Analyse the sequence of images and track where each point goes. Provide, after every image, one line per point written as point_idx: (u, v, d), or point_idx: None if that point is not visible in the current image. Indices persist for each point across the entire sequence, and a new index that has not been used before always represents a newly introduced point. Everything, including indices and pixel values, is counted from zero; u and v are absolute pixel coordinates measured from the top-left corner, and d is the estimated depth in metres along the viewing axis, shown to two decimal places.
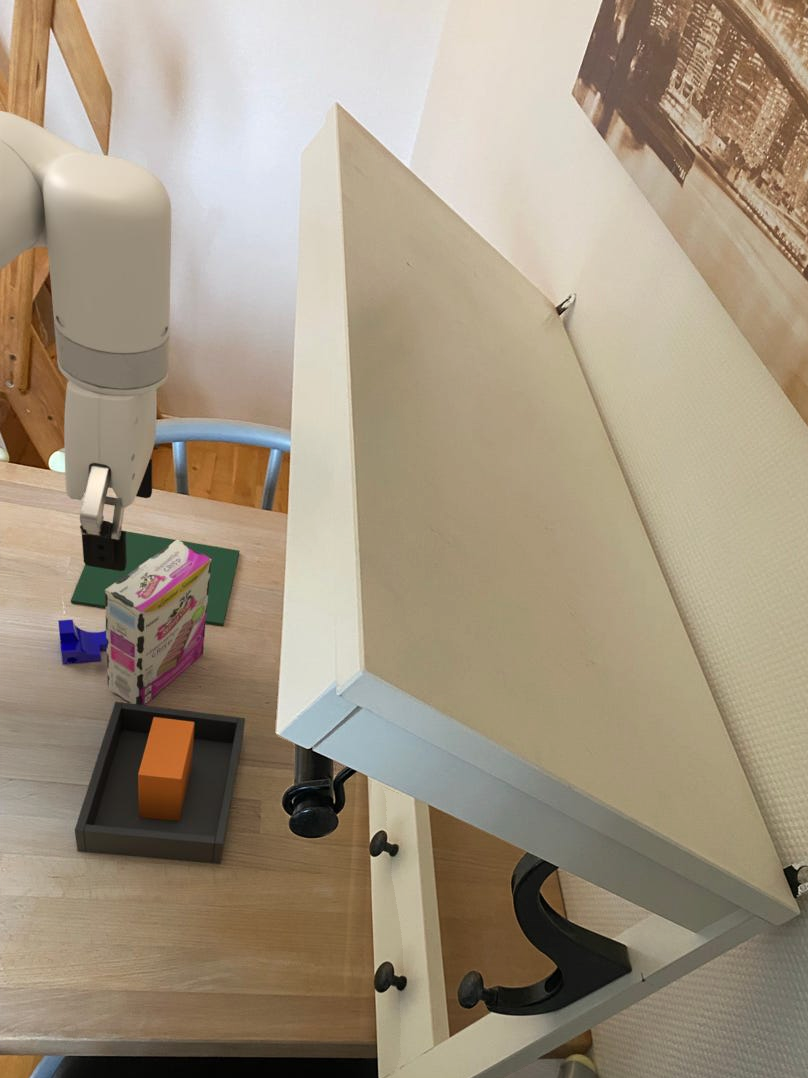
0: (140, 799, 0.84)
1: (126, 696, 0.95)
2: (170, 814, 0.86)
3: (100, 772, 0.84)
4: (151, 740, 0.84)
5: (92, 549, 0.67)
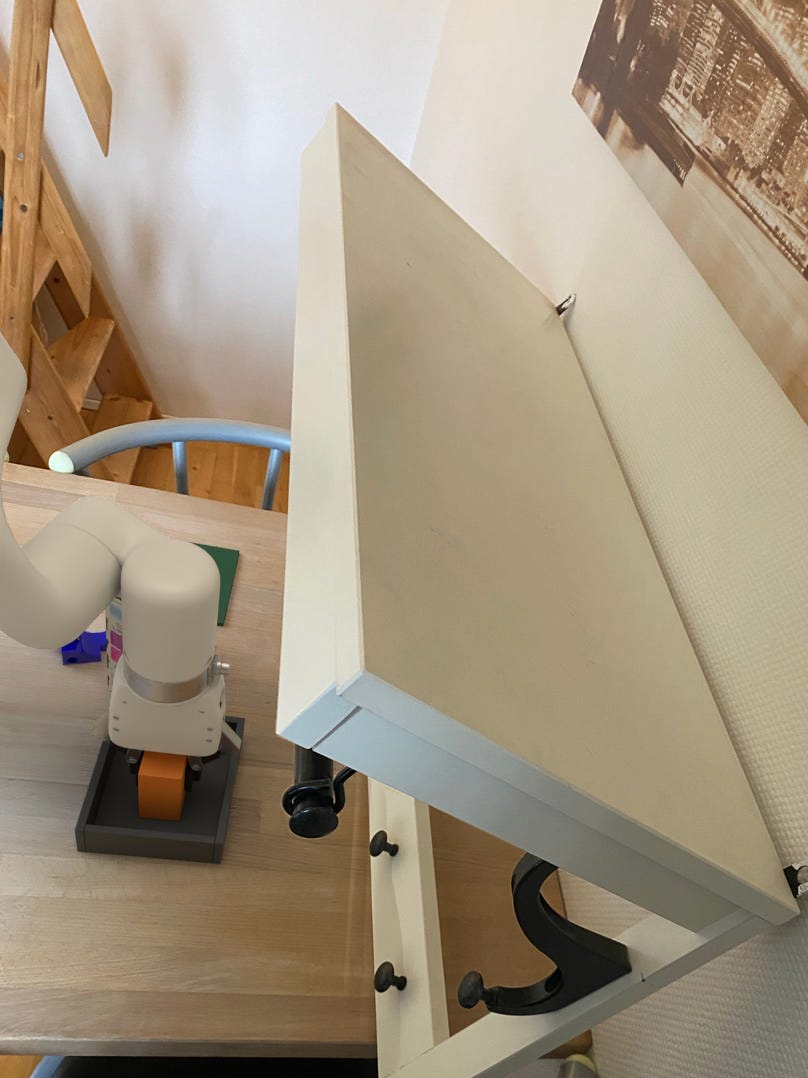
0: (140, 799, 0.84)
1: None
2: (170, 814, 0.86)
3: (100, 772, 0.84)
4: None
5: None
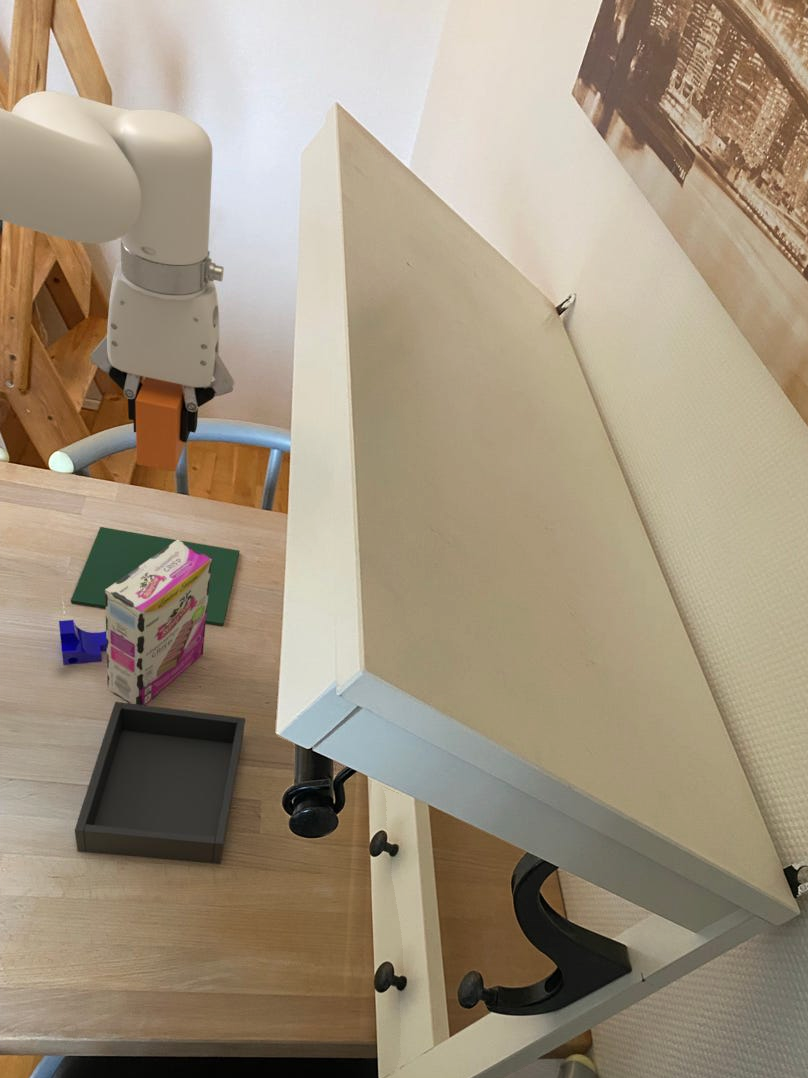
0: (137, 437, 0.88)
1: (126, 696, 0.95)
2: (167, 460, 0.90)
3: (100, 772, 0.84)
4: (148, 379, 0.88)
5: None
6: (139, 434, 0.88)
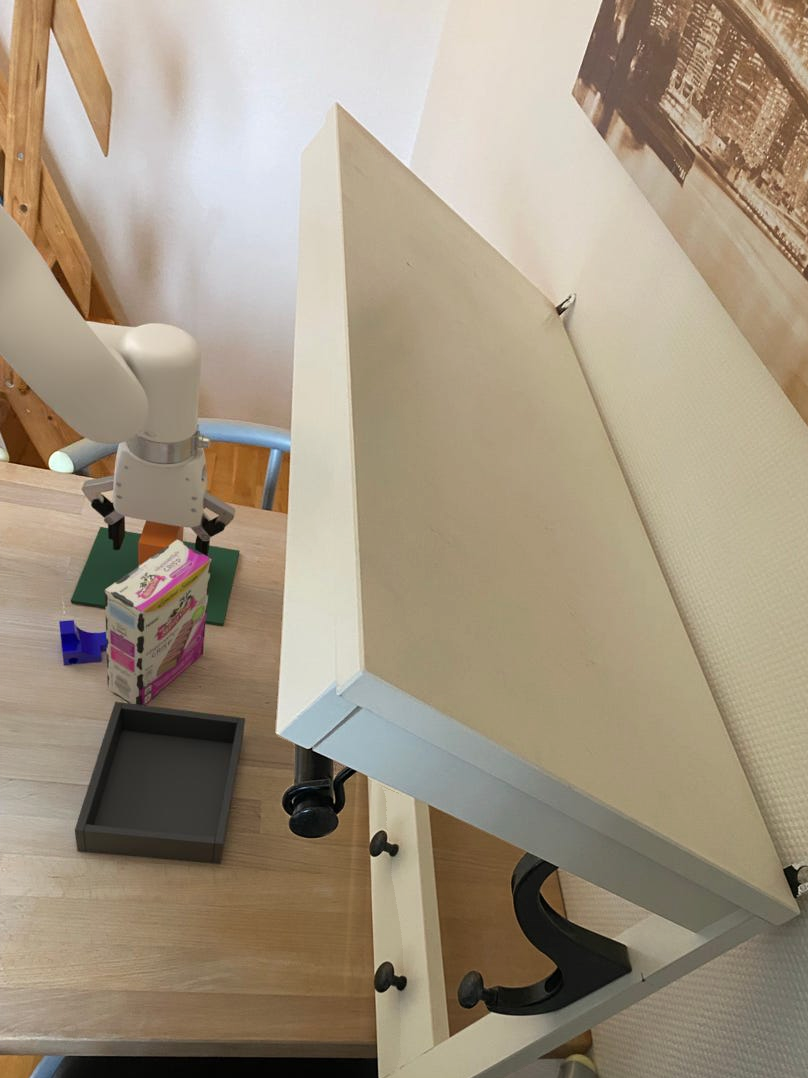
0: None
1: (126, 695, 0.95)
2: None
3: (100, 772, 0.84)
4: (149, 521, 1.04)
5: None
6: None
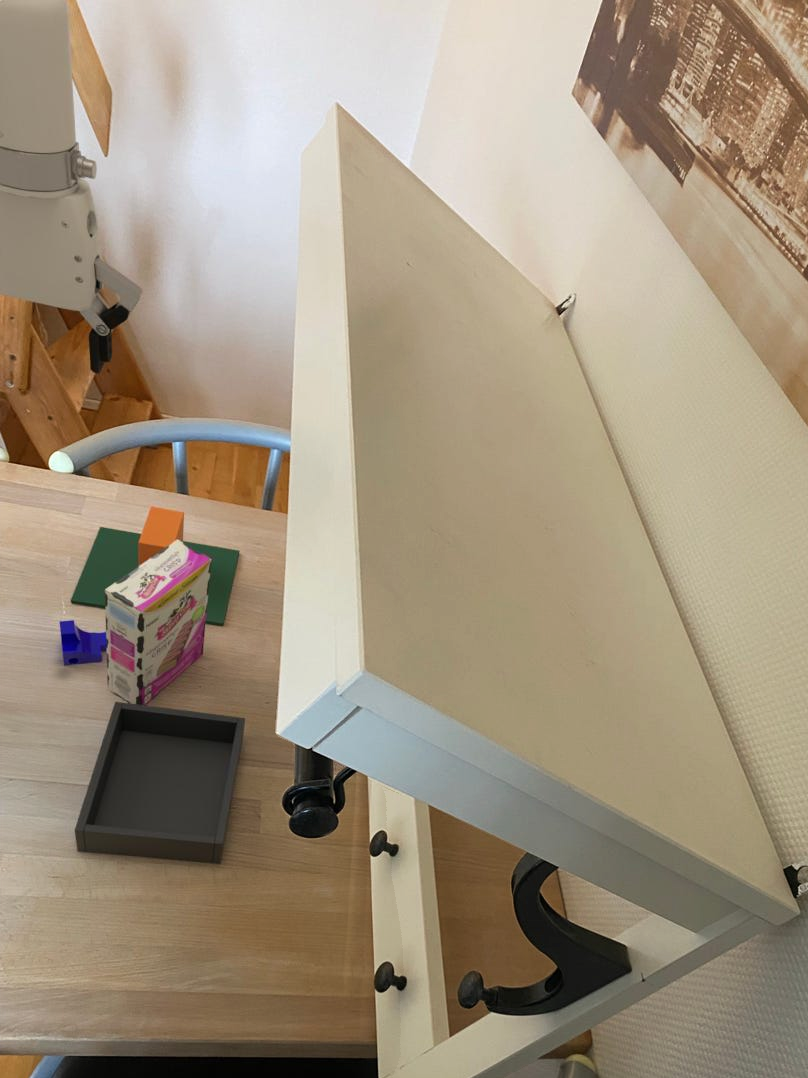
0: None
1: (126, 695, 0.95)
2: None
3: (100, 772, 0.84)
4: (149, 521, 1.04)
5: None
6: None
